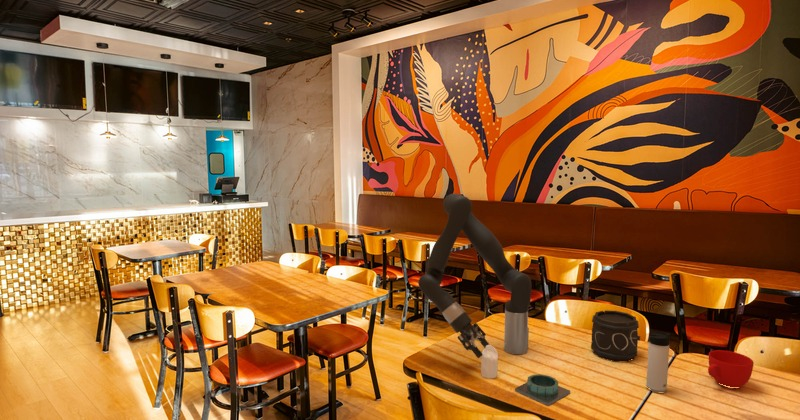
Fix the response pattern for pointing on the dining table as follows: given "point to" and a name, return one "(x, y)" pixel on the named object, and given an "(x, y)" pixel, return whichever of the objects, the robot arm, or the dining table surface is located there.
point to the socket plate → (544, 399)
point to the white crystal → (489, 362)
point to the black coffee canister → (615, 335)
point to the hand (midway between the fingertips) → (485, 352)
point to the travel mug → (658, 361)
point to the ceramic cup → (730, 368)
